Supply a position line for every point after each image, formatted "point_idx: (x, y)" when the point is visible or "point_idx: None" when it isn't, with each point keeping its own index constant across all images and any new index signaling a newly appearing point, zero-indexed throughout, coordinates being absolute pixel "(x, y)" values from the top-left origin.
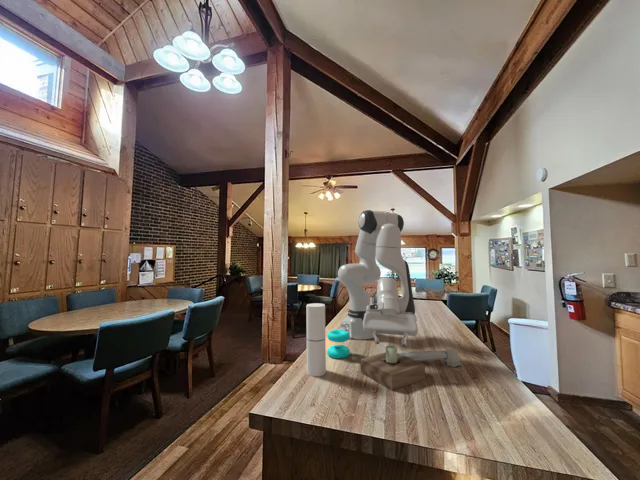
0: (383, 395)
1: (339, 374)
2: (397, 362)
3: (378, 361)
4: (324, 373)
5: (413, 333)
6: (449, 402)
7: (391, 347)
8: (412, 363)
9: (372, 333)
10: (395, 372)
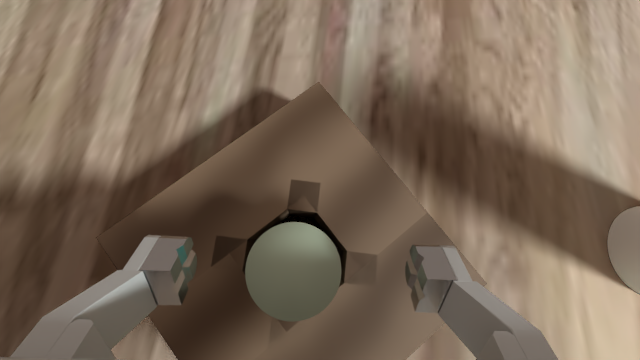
0: (351, 76)
1: (541, 240)
2: None
3: (376, 253)
4: (611, 233)
5: None
6: (117, 49)
7: (291, 277)
8: None
9: (530, 325)
10: (295, 109)
